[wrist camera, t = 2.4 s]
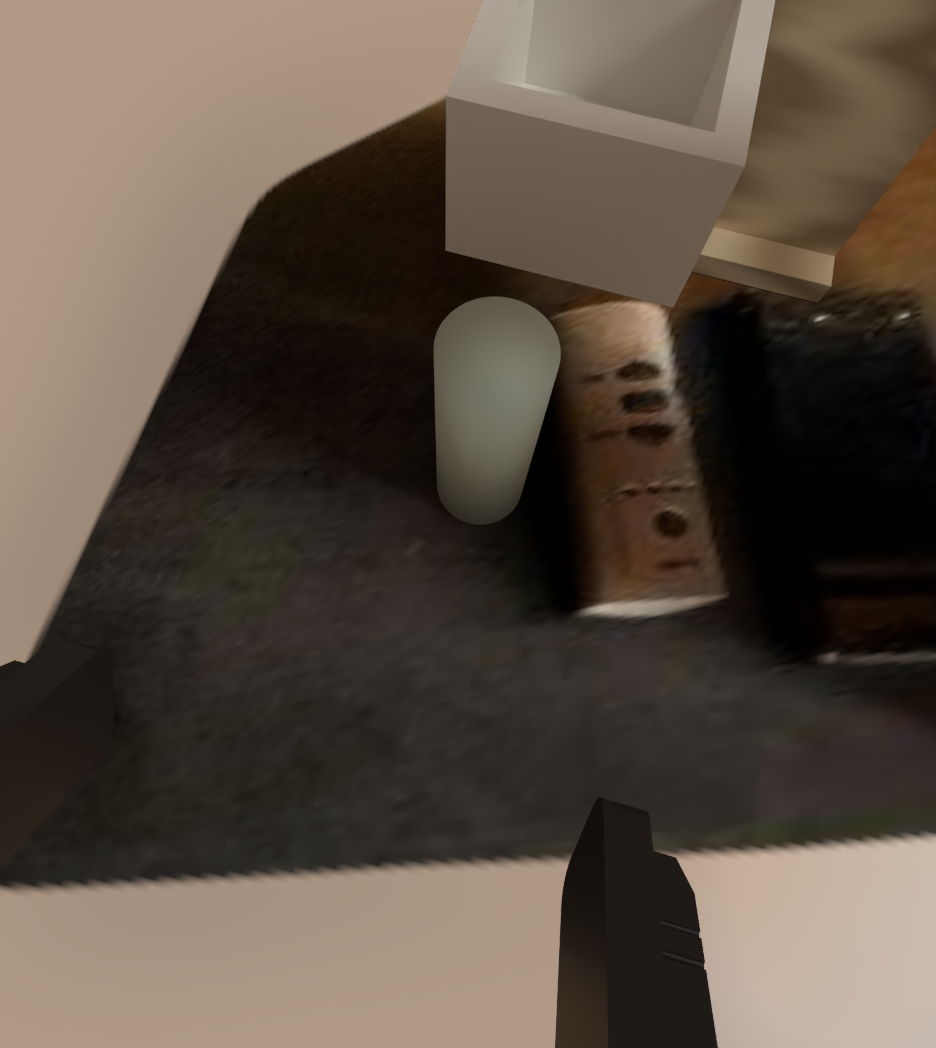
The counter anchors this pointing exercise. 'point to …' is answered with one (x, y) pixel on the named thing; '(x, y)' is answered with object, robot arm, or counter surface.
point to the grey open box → (601, 136)
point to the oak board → (825, 138)
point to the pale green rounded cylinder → (490, 403)
